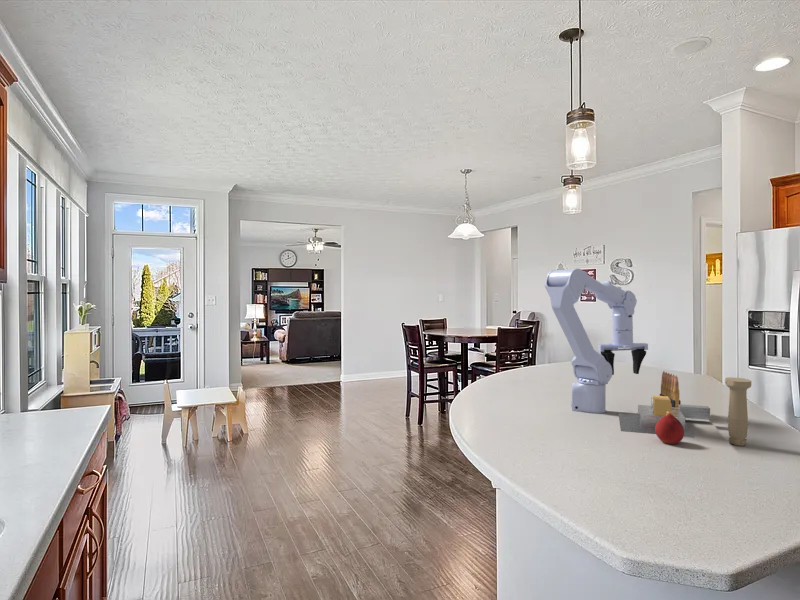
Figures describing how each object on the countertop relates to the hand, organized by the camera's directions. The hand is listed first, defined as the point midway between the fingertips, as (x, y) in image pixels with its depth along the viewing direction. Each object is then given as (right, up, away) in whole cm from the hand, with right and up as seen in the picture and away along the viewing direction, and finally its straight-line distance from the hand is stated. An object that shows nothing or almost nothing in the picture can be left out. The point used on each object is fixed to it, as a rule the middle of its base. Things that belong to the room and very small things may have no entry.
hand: (623, 374), depth 161 cm
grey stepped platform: (-1, -11, -25) cm, 27 cm away
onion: (-7, -11, -41) cm, 43 cm away
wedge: (-1, -9, -25) cm, 27 cm away
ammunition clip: (+10, -11, -8) cm, 17 cm away
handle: (+10, -11, -39) cm, 42 cm away
